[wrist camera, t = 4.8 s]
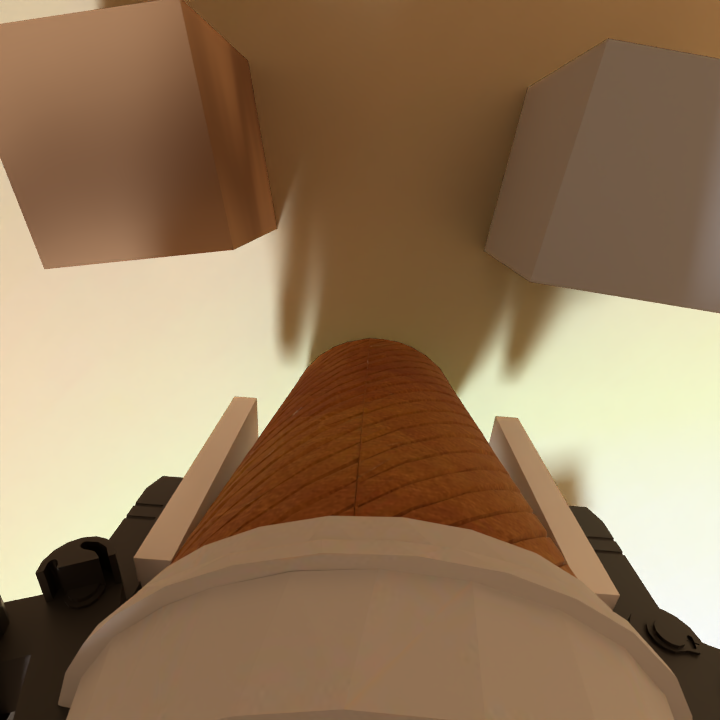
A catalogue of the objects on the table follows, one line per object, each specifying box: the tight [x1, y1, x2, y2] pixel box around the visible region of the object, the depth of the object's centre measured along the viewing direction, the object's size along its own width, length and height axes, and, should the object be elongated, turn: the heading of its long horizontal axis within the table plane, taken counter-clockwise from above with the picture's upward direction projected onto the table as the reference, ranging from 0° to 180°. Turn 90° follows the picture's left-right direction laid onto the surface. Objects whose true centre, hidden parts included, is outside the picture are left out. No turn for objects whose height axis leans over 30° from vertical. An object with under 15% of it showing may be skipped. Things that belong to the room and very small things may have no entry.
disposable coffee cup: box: [58, 338, 692, 720], centre depth 11 cm, size 10×10×12 cm
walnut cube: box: [0, 0, 277, 269], centre depth 12 cm, size 5×5×5 cm
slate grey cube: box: [484, 39, 720, 313], centre depth 12 cm, size 5×5×5 cm
